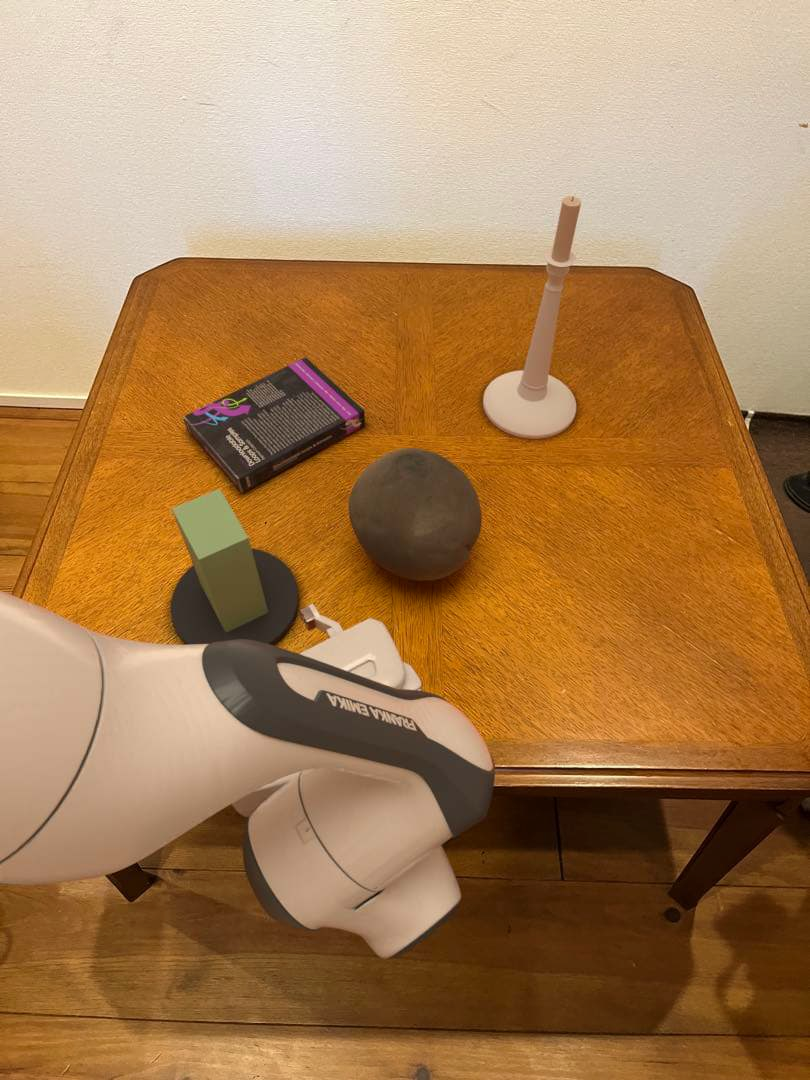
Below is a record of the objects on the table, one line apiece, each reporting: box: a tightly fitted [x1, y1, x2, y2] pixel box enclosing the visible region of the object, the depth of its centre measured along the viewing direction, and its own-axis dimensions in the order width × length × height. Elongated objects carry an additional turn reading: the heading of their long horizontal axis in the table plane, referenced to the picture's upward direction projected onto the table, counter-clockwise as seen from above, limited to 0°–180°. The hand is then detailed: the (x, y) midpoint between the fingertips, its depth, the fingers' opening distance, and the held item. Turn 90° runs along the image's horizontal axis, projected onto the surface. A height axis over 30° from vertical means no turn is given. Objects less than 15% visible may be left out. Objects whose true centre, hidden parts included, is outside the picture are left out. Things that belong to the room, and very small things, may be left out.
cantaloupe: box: [348, 447, 483, 581], centre depth 81 cm, size 14×14×15 cm
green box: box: [171, 488, 268, 633], centre depth 76 cm, size 5×7×14 cm
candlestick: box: [482, 195, 582, 440], centre depth 90 cm, size 13×13×30 cm
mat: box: [170, 548, 300, 646], centre depth 82 cm, size 14×14×1 cm
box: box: [182, 356, 366, 494], centre depth 97 cm, size 14×4×20 cm
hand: (261, 631), depth 70 cm, fingers open, 8 cm apart
